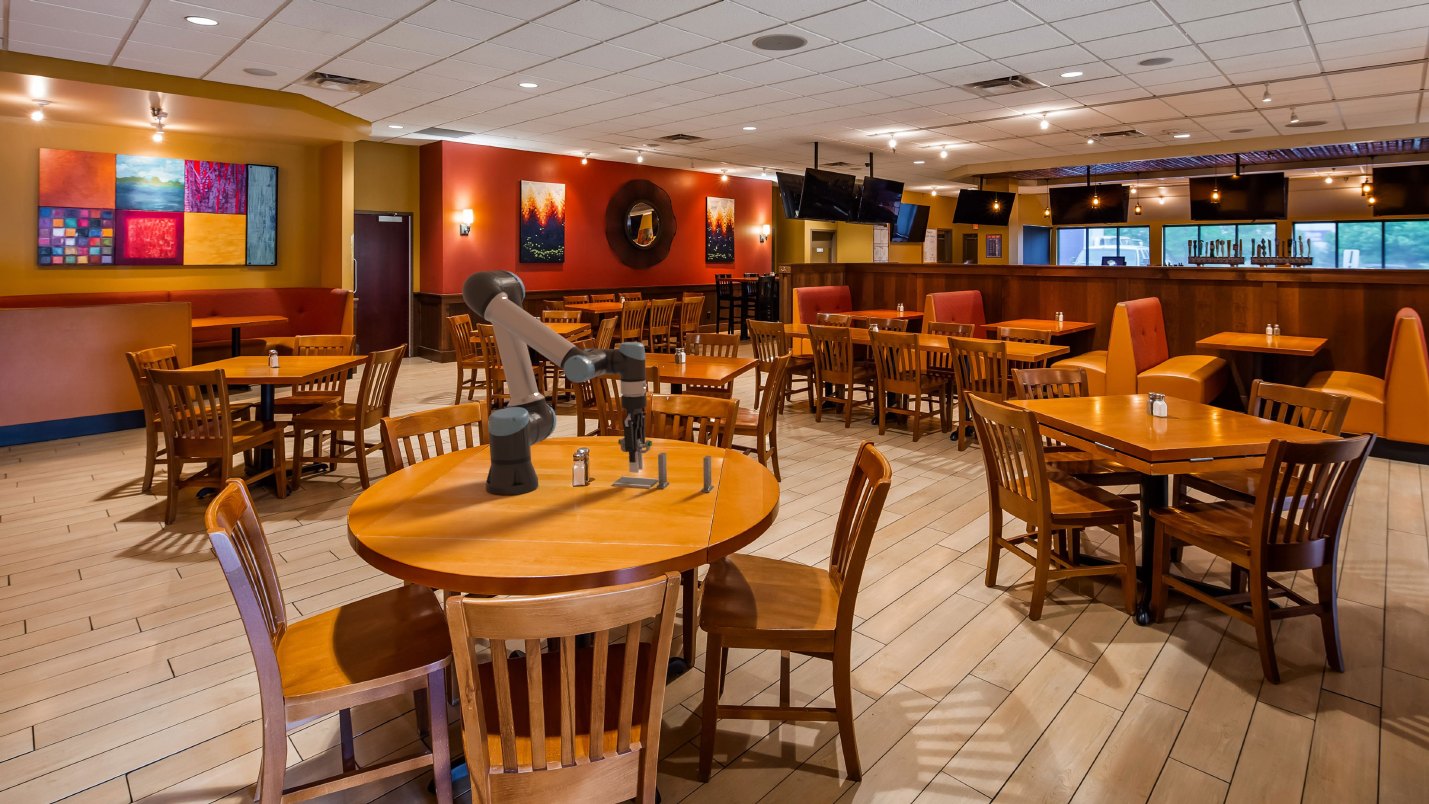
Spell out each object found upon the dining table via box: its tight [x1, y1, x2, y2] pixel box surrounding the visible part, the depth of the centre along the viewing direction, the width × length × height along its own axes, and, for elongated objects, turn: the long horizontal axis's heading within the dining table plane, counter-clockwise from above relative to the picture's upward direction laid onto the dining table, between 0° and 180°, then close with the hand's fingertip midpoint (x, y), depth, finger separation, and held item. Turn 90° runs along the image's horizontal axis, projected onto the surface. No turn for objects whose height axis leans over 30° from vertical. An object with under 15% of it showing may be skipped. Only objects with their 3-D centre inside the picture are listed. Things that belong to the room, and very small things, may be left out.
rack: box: [655, 452, 715, 493], centre depth 230 cm, size 16×5×10 cm, turn 74°
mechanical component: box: [617, 437, 653, 468], centre depth 235 cm, size 3×10×10 cm, turn 75°
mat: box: [612, 475, 659, 489], centre depth 236 cm, size 12×8×1 cm, turn 74°
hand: (636, 470), depth 235 cm, fingers closed on mechanical component, 3 cm apart
